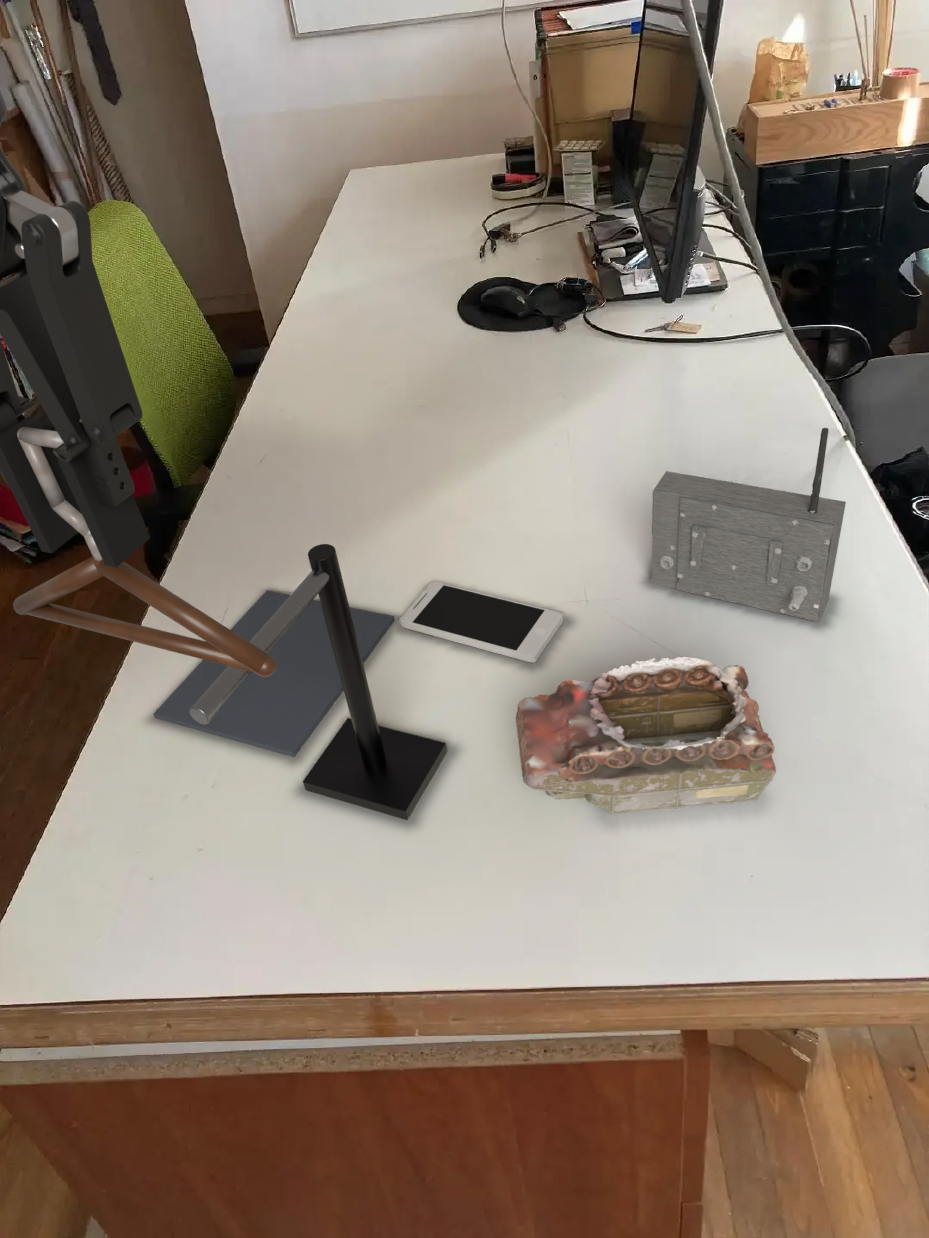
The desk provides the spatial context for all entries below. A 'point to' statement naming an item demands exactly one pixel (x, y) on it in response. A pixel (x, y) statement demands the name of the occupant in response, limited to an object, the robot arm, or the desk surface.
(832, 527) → the electronic device
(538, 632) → the smartphone
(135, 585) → the hanger
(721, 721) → the decorative box
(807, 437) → the desk surface
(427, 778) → the rail stand
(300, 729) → the felt mat
